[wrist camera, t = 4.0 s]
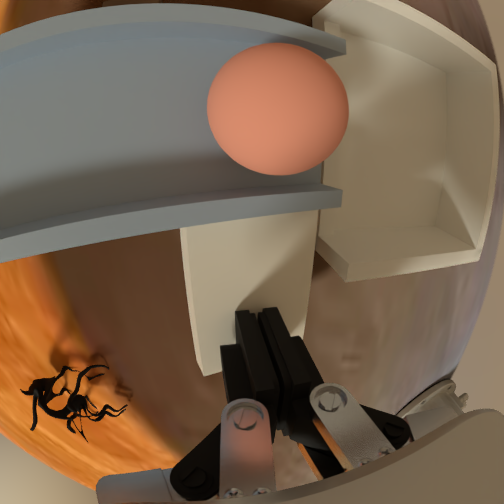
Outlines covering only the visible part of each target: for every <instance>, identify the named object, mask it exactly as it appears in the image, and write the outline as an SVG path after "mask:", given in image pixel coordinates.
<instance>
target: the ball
mask: <svg viewBox="0 0 504 504" xmlns="http://www.w3.org/2000/svg"><path fill="white" fill-rule="evenodd" d="M207 116H208V122H209V125H210V128H211V131H212V133H213V135H214V138H215V139H216V141H217V143H218V144H219V146H220V147H221V148H222V149H223V151H224V152H225V153H226V154H228V155H229V156H230V157H231V158H232V159H233V160H234V161H236V162H237V163H239V164H240V165H242V166H244V167H246V168H248V169H250V170H253V171H256V172H259V173H262V174H268V175H291V174H297V173H300V172H304V171H307V170H309V169H311V168H313V167H315V166H317V165H319V164H320V163H321V162H323V161H324V160H325V159H327V158H328V157H329V156H330V155H331V154H332V153H333V152H334V150H335V149H336V148H337V147H338V145H339V144H340V142H341V140H342V138H343V136H344V134H345V131H346V128H347V124H348V118H349V104H348V98H347V94H346V90H345V88H344V85H343V83H342V81H341V79H340V78H339V76H338V75H337V73H336V72H335V70H334V69H333V68H332V67H331V66H330V65H329V64H328V63H327V62H326V61H325V60H324V59H322V58H321V57H320V56H318V55H317V54H315V53H313V52H312V51H310V50H308V49H305V48H303V47H300V46H297V45H293V44H287V43H265V44H260V45H256V46H253V47H249V48H247V49H245V50H243V51H241V52H239V53H237V54H236V55H235V56H233V57H232V58H231V59H229V60H228V61H227V62H226V63H225V64H224V65H223V66H222V67H221V69H220V70H219V71H218V73H217V74H216V76H215V78H214V80H213V82H212V84H211V87H210V89H209V94H208V99H207Z"/></svg>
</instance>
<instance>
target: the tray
mask: <svg viewBox="0 0 504 504" xmlns="http://www.w3.org/2000/svg"><path fill="white" fill-rule="evenodd" d="M312 28H315V29H318V30H321V31H324V32H327V33H329V34H332V35H335V36H337V37H340V38H342V39H345V40H346V55H342V56H337V57H333V58H328V59H324V60H325V61H326V62H327V63H328V64H329V65H330V66H331V67H332V68H333V69H334V70H335V72H336V73H337V75H338V76H339V78H340V79H341V81H342V83H343V85H344V88H345V90H346V94H347V98H348V104H349V118H348V124H347V128H346V131H345V134H344V136H343V138H342V140H341V142H340V144H339V145H338V147H337V148H336V149H335V150H334V152H333V153H332V154H331V155H330V156H329V157H328V158H327V159H325V160H324V161H323V162H322V165H321V182H320V184H324V185H327V186H331V187H334V188H337V189H341V190H343V194H342V204H341V207H338V208H328V209H319V210H318V221H317V232H316V242H315V250H316V251H317V252H318V254H319V255H320V256H321V257H322V258H323V259H324V260H325V261H326V262H327V263H328V264H329V265H330V266H331V267H332V268H333V269H334V270H335V271H336V272H337V273H338V275H339V276H340V277H341V278H342V279H343V280H344V281H345V282H352V281H359V280H367V279H374V278H381V277H387V276H394V275H400V274H407V273H413V272H419V271H425V270H431V269H437V268H443V267H448V266H454V265H459V264H464V263H470V262H475V261H479V258H480V255H481V251H482V248H483V244H484V240H485V236H486V232H487V228H488V223H489V218H490V214H491V208H492V203H493V197H494V191H495V183H496V176H497V166H498V154H499V134H500V111H499V91H498V79H497V70H496V64H495V63H493V62H492V61H491V60H490V59H489V58H488V57H486V56H485V55H484V54H483V53H481V52H480V51H479V50H478V49H476V48H475V47H474V46H472V45H471V44H470V43H468V42H467V41H466V40H464V39H463V38H461V37H460V36H459V35H457V34H456V33H454V32H453V31H451V30H450V29H448V28H447V27H445V26H443V25H442V24H440V23H439V22H437V21H435V20H434V19H432V18H430V17H429V16H427V15H425V14H423V13H422V12H420V11H418V10H416V9H414V8H412V7H410V6H408V5H406V4H404V3H402V2H400V1H398V0H332V1H331V2H330V3H329V4H327V5H326V6H325V7H324V8H322V9H321V10H320V11H319V12H318V13H316V14H315V15H314V16H313V17H312Z"/></svg>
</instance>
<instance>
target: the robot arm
mask: <svg viewBox="0 0 504 504" xmlns="http://www.w3.org/2000/svg"><path fill="white" fill-rule="evenodd" d="M235 332H236V344H229V345H220V355H221V365H222V373H223V379H224V385H225V391H226V397H227V403H228V405H226V407H225V408H224V409H223V411H222V416H221V423H220V424H219V425H218V426H217V427H216V428H215V429H214V430H213V431H212V432H211V433H210V434H209V435H208V436H207V437H206V438H205V439H203V440H202V441H201V442H200V443H199V444H198V445H197V446H196V447H195V448H194V449H193V450H192V451H191V452H190V453H189V454H187V455H186V456H185V457H184V458H183V459H182V460H181V461H180V462H179V463H177V464H176V465H175V466H174V468H169V469H164V470H161V468H159V469H153V470H147V471H141V472H134V473H126V474H116V475H108V476H104V477H102V478H101V479H100V480H99V481H98V483H97V485H96V494H97V498H98V503H99V504H504V415H502V414H501V413H500V412H499V411H497V410H494V409H478V410H473V411H470V412H467V413H464V412H463V411H462V409H463V408H465V406H466V400H467V399H468V394H467V393H464V394H462V395H461V396H459V397H457V396H456V394H455V393H454V391H455V388H456V385H455V383H454V382H453V381H452V380H450V379H448V380H444V381H442V382H440V383H438V384H436V385H434V386H433V387H431V388H429V389H428V390H427V391H425V392H424V393H422V394H421V395H420V396H418V397H417V398H416V399H414V400H413V401H412V402H411V403H410V404H408V405H407V406H406V407H405V408H404V409H403V410H402V411H400V412H399V413H398V414H397V415H396V416H395V415H392V414H388V413H385V412H382V411H379V410H376V409H373V408H369V407H366V406H363V405H360V404H358V402H357V401H356V400H355V399H354V397H353V396H352V395H351V394H350V392H349V391H348V390H347V389H346V388H345V387H343V386H341V385H339V384H335V383H324V381H323V379H322V377H321V375H320V373H319V371H318V369H317V368H316V366H315V364H314V362H313V360H312V358H311V356H310V354H309V352H308V350H307V348H306V346H305V344H304V342H303V340H302V338H301V337H300V336H299V335H298V336H292V337H291V336H290V333H289V331H288V329H287V327H286V325H285V323H284V321H283V319H282V316H281V314H280V312H279V310H278V308H277V307H269V308H263V309H262V312H258V315H257V318H256V315H255V313H250V311H249V310H241V311H235ZM276 429H277V430H282V433H283V436H287V435H289V437H290V439H291V440H294V441H296V442H297V445H298V447H299V449H300V451H301V452H302V454H303V456H304V458H305V459H306V461H307V463H308V464H309V466H310V468H311V469H312V471H313V473H314V474H315V476H316V478H317V479H318V481H316V482H313V483H309V484H305V485H302V486H298V487H294V488H289V489H285V490H280V491H277V490H276V480H275V471H274V461H273V451H272V444H273V443H274V437H275V431H276Z"/></svg>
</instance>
